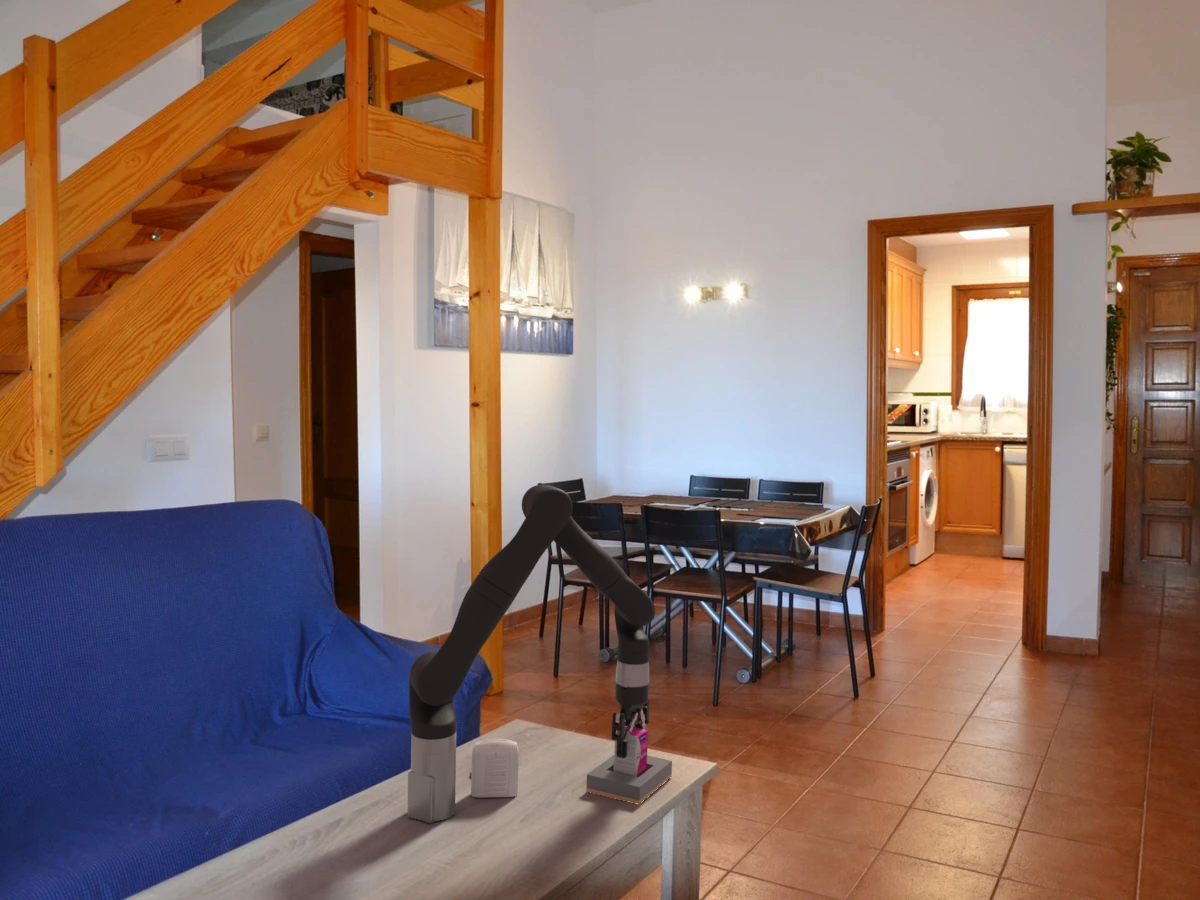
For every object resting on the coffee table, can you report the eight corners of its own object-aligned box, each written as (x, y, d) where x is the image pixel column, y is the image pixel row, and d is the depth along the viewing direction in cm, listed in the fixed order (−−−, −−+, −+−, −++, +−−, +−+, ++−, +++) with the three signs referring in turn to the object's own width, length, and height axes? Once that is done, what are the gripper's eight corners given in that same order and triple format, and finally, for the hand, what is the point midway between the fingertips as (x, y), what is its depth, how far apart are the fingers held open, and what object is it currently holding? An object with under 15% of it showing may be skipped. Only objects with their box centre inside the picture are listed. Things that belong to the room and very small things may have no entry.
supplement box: (635, 787, 215) (636, 737, 215) (612, 781, 218) (613, 731, 218) (647, 778, 220) (648, 729, 220) (624, 772, 223) (625, 724, 223)
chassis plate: (639, 805, 209) (639, 787, 208) (586, 792, 215) (586, 774, 215) (671, 777, 224) (671, 760, 223) (621, 766, 230) (621, 749, 230)
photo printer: (517, 790, 215) (518, 735, 214) (518, 798, 211) (519, 742, 210) (470, 791, 214) (471, 736, 213) (471, 799, 210) (471, 743, 209)
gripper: (631, 669, 226) (629, 738, 227) (602, 685, 213) (600, 757, 214) (660, 675, 222) (658, 744, 223) (633, 691, 210) (631, 765, 211)
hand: (629, 751), depth 219 cm, fingers open, 8 cm apart
